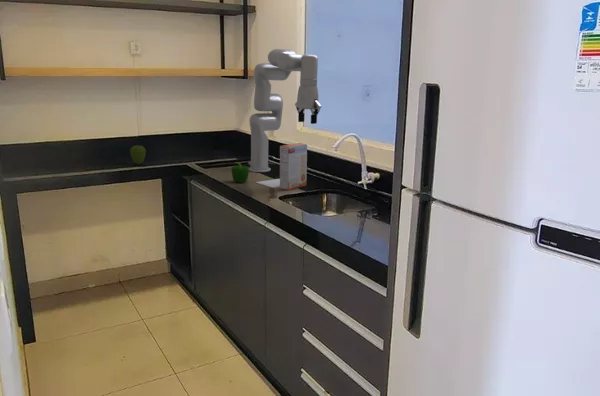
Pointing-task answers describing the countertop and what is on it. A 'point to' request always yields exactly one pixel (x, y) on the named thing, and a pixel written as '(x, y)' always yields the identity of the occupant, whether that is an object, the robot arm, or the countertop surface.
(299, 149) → the cracker box
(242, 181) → the bell pepper
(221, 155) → the countertop surface
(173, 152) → the countertop surface
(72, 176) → the countertop surface
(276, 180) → the mat
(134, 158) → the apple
